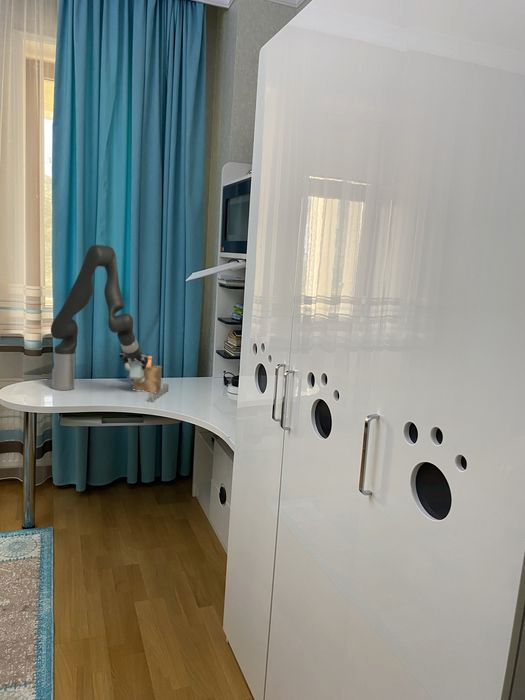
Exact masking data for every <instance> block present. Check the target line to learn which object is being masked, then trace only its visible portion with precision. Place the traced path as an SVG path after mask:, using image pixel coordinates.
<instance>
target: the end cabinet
mask: <svg viewBox="0 0 525 700" xmlns="http://www.w3.org/2000/svg"><path fill="white" fill-rule="evenodd" d="M162 366H163V365H152V364H151V368H150V367H146V368H145V370H144V378H142V379H140V380H139V379H133V384H132V386H131V388H132V389H135V390H144V391H150V392H149V393H151V392H157V391H159V390H160V389H162V368H163V367H162ZM132 389H131V390H132Z"/></svg>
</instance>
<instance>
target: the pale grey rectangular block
mask: <svg viewBox="0 0 525 700" xmlns="http://www.w3.org/2000/svg"><path fill="white" fill-rule="evenodd" d="M129 373H130V377H129V379H128V380H130V379H139V380H140V379H142V378H144V370H143V369H142V366H141V364H140V363H138V362H137V361H131V363H130V371H129Z"/></svg>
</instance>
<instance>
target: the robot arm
mask: <svg viewBox="0 0 525 700" xmlns="http://www.w3.org/2000/svg"><path fill="white" fill-rule="evenodd" d="M117 264H118V263H117V256H116V252H115V250H114V248H113V247H111V246H108V245H101V244H92V245H91V246H90V247H88V250H87V252H86V255H85V256H84V260H83V262H82V265H81V268H80V271H79V273H78V275H77V277H76V279H75V281H74V283H73V284H72V287H71V289H70V291H69V293H68V296H67V297H66V299H65V301H64V303H63V305H62V307H61V309H60V310H59V312H58V313H57V315H56V317H55V318H54V320H53V321H52V323H51V325H50V334H51V336H52V337H53V338H54V339H57V340H61V342H60V343H58V344H57V345H55V347H54V354H53V355H54V358H53V359H54V363H53V364H54V365H53V366H54V367H53V368H52V369H51V371H52V372H51V373H52V374H51V388H52V389H54V390H58V391H70V389H71V390H74V389H75V371H76V370H75V369H76V368H75V367H76V366H75V365H76V349H77V347H78V334H79V333H78V332H79V328H78V323H77V322H76V320H75V319H74V318H73V317H75V315H77V314H78V313H79V312H81V310H83V309H84V308H85V307H86V306H87V305H88V304H89V302H90V300H91V299H92V296H93V295H94V291H95V290H94V288H95V287H94V286H95V285H94V281H93V276H94V273H95V271H96V269H97V268H98V267H104V268H105V271H106V277H107V278H106V283H105V284H104V285H105V287H104V290H103V291H104V298H105V302H106V304H107V305H106V306H107V310H108V322H107V323H108V328H109V330H110V332H112V333H115V334H116V335H117V339H118V342H119V345H120V347H121V350H122V351H120V353H119V355H118V357H119V358H120V359H121V361H122V363H123V362H124V363H128V364H129V366H130V363H131V361H137V362H138V363H140V364H141V366H142V369H143V370H145V368H146V365H147V363H148V357H149V356H150V355H149V353H146V354H143V353H142V352H141V347H140V344H139V342H138V340H137V338H136V336H135V334H134V333H135V332H134V318H133V317H132V315H131V314H130V313H127V312H125V313H122V314H118V315H116V314H117V313H119V312H120V311H122V310H123V309H125V302H124V298H123V296H122V291H121V288H120V282H119V271H118V265H117ZM73 388H74V389H73Z"/></svg>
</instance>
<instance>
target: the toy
mask: <svg viewBox="0 0 525 700" xmlns="http://www.w3.org/2000/svg"><path fill="white" fill-rule="evenodd" d="M122 363H123V367H124V369H125V371H128V372H129V373H128V375H127V381H129V380H130V381H131V382H132V383H133V379H129V377H130V366H129V364H128V363H124V362H123V361H122ZM132 383H131V384H132Z"/></svg>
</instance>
